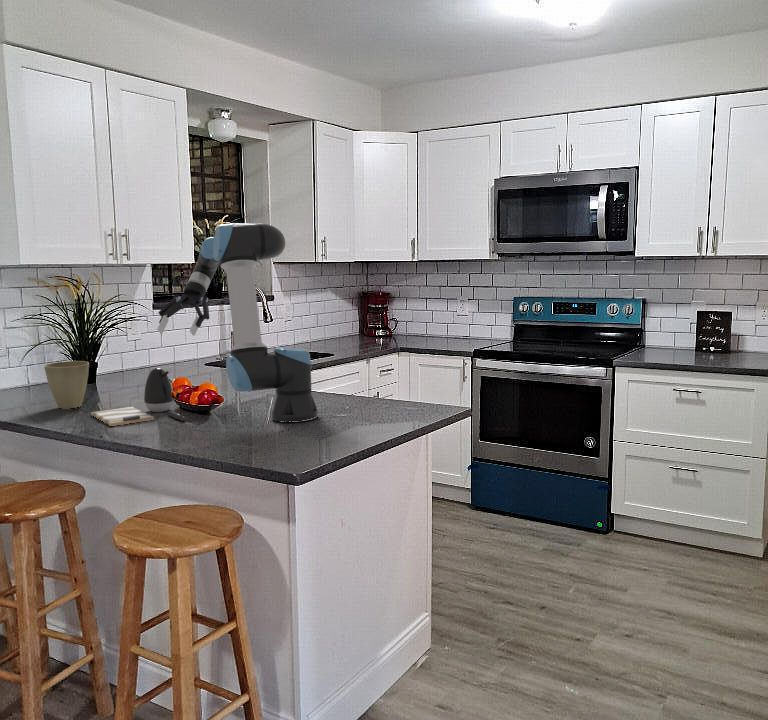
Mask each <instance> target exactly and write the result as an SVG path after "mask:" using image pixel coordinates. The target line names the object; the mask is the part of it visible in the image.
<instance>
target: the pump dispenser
mask: <svg viewBox="0 0 768 720" xmlns="http://www.w3.org/2000/svg"><path fill="white" fill-rule="evenodd" d="M169 374H170V373H169V371H168V370H166V371H165V370H164V369H163V368H161V367H155V368H153V369H151V370H150V371H149V373H148V375H147V378H146V381H145V385H144V392H143V403H144V405H145V407H146V408H147V410H149V411H150V412H152V413H165V412H167V411H170V410H171V408H172V406H173V404H174V401H175V399H174V400H173V399H172V397H171V391H172V389H173V386H172V383H171V380H170V378H169V376H168V375H169ZM164 411H165V412H164Z"/></svg>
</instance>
